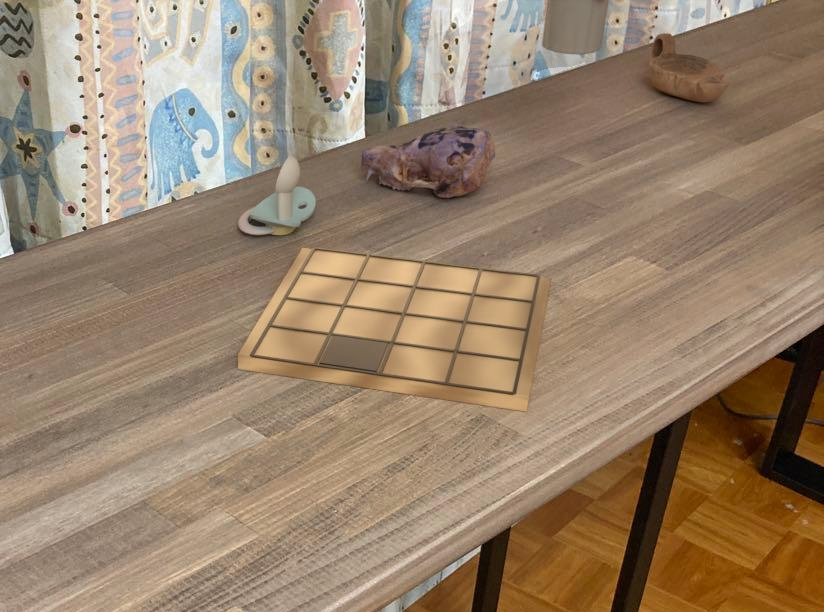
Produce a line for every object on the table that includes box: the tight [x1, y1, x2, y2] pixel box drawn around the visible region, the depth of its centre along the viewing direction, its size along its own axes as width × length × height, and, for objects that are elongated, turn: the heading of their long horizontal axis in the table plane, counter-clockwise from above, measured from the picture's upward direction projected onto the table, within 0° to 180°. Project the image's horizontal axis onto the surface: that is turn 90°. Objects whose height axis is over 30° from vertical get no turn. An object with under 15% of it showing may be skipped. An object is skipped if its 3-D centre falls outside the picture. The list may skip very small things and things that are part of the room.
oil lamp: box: [648, 32, 730, 103], centre depth 125 cm, size 13×8×5 cm, turn 12°
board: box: [237, 246, 552, 412], centre depth 83 cm, size 20×18×1 cm
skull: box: [360, 125, 496, 199], centre depth 103 cm, size 12×8×6 cm, turn 68°
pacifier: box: [237, 155, 317, 236], centre depth 95 cm, size 7×6×6 cm
